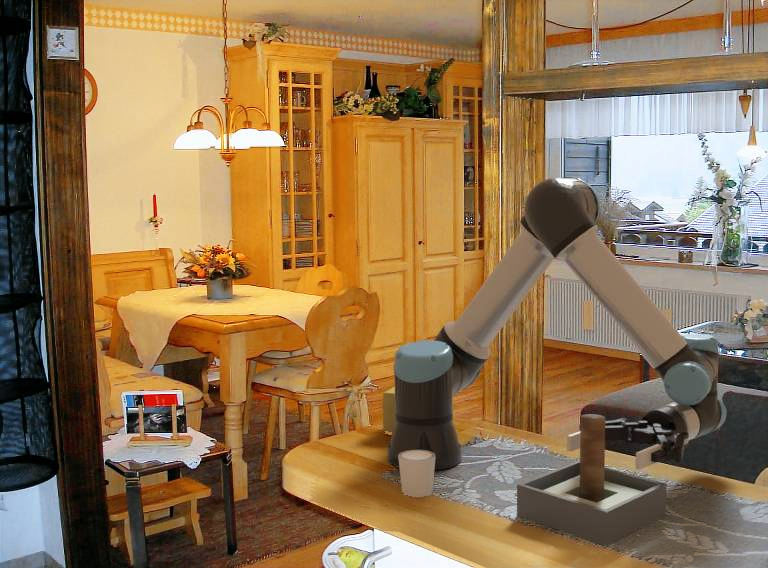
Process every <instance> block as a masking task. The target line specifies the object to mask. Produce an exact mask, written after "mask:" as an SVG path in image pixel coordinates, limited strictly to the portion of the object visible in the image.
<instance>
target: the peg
mask: <svg viewBox="0 0 768 568" xmlns="http://www.w3.org/2000/svg"><path fill="white" fill-rule="evenodd" d="M605 421H606V416H604V415H601V414H596V413H594V414H593V413H589V414H588V413H586V414H582V415H580V424H581V429H580V448H579V451H580V452H579V461H580V496H579V498H583V499H586V500H589V501H593V502H596V503H597V502H599V501H602V500H604V467H605V465H606V463H605V458H606V456H605V455H606V441H605Z"/></svg>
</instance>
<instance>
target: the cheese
mask: <svg viewBox="0 0 768 568" xmlns="http://www.w3.org/2000/svg"><path fill="white" fill-rule="evenodd" d="M382 395H383V396H382V426H383V432H384V431H388V432H392V433H393V429H394V426H395V385H394V386H393V387H391V388H389V389H388V390H387V391H384V392H383V393H382Z"/></svg>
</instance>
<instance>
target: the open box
mask: <svg viewBox="0 0 768 568" xmlns="http://www.w3.org/2000/svg"><path fill="white" fill-rule="evenodd" d="M579 496H580V459H579V460H576V461H573V462H570V463H568V464H566V465H563V466H561V467H558V468H555V469H553V470H551V471H547V472H545V473H543V474H540V475H537V476H535V477H533V478H531V479H527V480H524V481H523V482H520V483H518V484H516V517H519V518H522V519H524V520H528V521H531V522H534V523H536V524H541V525H543V526H546V527H548V528H551V529H554V530H558V531H561V532H563V533H566V534H569V535H572V536H575V537H577V538H581V539H583V540H587V541H590V542H592V543H595V544H598V545H601V546H605V547H608V546H610V545H611V544H614V543H615V542H618V541H619V540H621V539H624V538H626V537H628V536H629V535H631V534H633V533H635V532H636V531H639V530H641V529H643V528H645V527H646V526H649V525H651V524H652V523H654V522H656V521H658V520H660V519H662V518H663V517H665V516H667V483H664V482H660V481H656V480H654V479H653V480H652V479H649V478H645V477H642V476H638V475H634V474H631V473H627V472H624V471H620V470H616V469H613V468H608V467H605V466H604V500H602V501H599V502H597V503H596V502H593V501H589V500H586V499H583V498H579Z"/></svg>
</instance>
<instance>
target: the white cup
mask: <svg viewBox="0 0 768 568" xmlns="http://www.w3.org/2000/svg"><path fill="white" fill-rule="evenodd" d="M398 458H399V467H398V468H399V476H400V484H401V485H400V486H401V492H403V493H404V494H405V495H404V494H403V493H402V494H403V495H404V496H406V495H408V496H407V497H409V496H412V497H411V498H423V497H424V496H425V497H428V496H431V495H432V494H433V492H434V490H433V489H434V477H435V470H434V469H435V454H434V453H433V452H430V451H427V450H408V451H404V452H401V453H400V454H398Z"/></svg>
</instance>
